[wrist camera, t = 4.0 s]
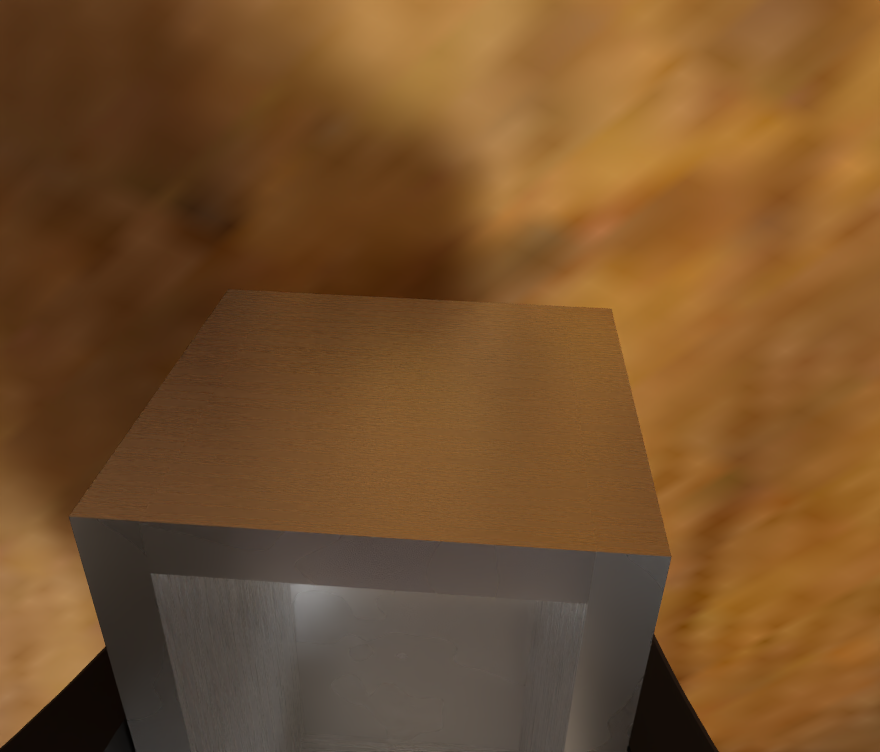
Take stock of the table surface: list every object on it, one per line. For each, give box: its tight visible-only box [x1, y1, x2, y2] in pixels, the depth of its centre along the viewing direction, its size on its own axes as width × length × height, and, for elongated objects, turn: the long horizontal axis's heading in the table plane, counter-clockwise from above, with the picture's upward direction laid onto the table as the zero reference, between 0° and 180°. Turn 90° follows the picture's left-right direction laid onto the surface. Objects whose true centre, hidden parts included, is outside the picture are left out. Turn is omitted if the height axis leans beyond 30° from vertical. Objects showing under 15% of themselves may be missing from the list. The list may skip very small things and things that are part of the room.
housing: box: [69, 289, 671, 752], centre depth 11 cm, size 5×9×4 cm, turn 179°
